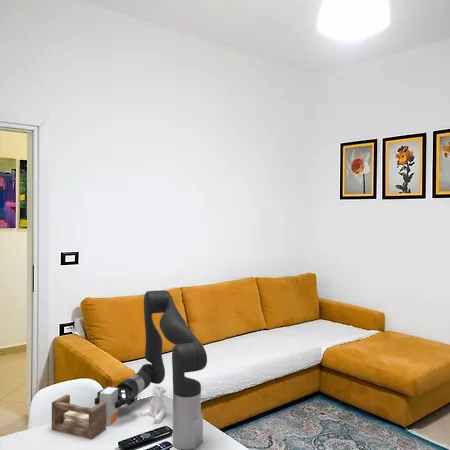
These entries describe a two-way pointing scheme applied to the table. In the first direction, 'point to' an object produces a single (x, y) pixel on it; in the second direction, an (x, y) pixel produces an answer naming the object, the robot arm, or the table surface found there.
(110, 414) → the skincare box
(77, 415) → the offcut stack
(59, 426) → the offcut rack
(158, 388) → the sitting furry creature
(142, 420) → the table surface
